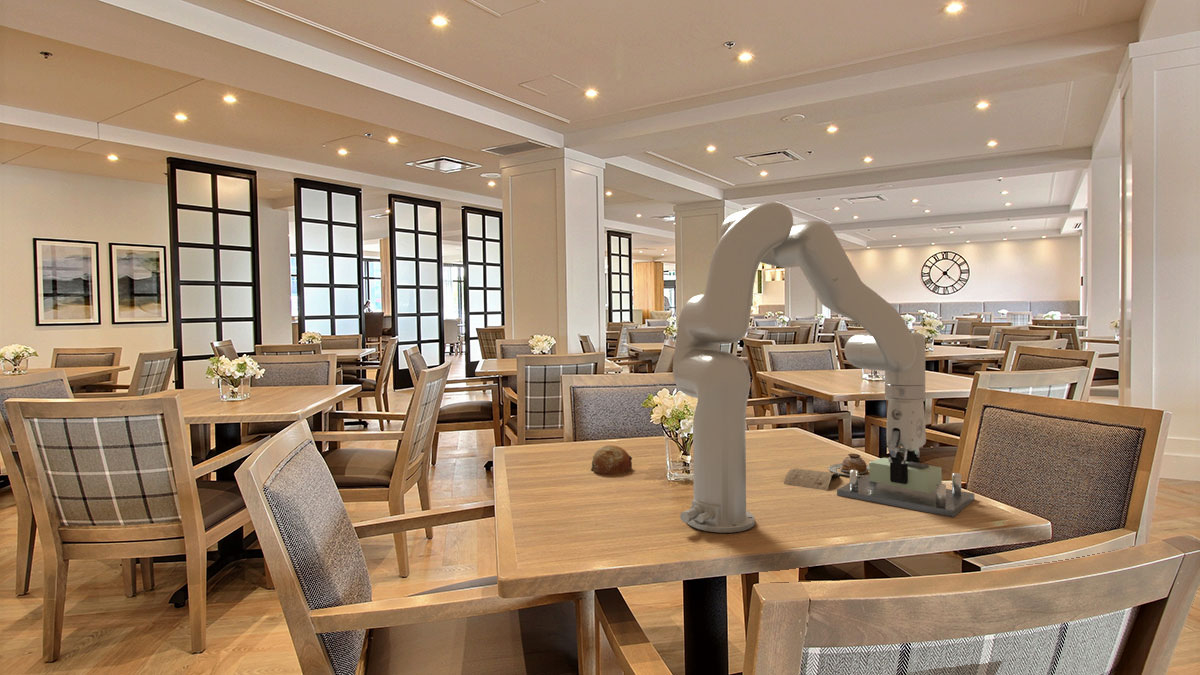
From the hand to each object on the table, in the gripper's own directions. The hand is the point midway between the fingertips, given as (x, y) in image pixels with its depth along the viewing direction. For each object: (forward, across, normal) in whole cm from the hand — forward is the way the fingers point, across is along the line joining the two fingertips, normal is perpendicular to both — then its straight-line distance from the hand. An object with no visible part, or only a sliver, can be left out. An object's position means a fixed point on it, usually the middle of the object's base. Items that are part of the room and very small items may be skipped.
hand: (905, 478), depth 130 cm
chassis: (+4, 0, 0) cm, 4 cm away
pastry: (+5, +14, +16) cm, 21 cm away
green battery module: (+1, 0, 0) cm, 1 cm away
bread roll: (+4, -22, +62) cm, 66 cm away
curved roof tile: (+5, 0, +20) cm, 21 cm away
